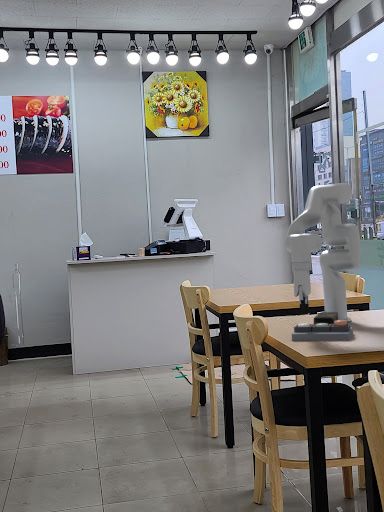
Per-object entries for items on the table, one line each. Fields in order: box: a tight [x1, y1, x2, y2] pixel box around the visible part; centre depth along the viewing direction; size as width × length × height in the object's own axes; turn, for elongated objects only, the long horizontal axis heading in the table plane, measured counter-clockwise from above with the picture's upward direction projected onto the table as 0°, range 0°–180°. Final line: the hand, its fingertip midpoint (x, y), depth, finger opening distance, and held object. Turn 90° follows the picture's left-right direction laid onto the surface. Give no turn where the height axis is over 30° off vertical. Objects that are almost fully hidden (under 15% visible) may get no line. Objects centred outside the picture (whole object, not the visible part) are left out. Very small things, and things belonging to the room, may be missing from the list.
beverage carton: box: [313, 310, 338, 325], centre depth 259 cm, size 8×19×7 cm, turn 161°
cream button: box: [298, 322, 310, 327], centre depth 244 cm, size 4×4×2 cm
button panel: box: [291, 323, 354, 342], centre depth 241 cm, size 14×21×4 cm, turn 70°
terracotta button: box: [335, 320, 348, 326], centre depth 239 cm, size 4×4×2 cm
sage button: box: [316, 323, 328, 327], centre depth 241 cm, size 4×4×2 cm
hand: (304, 314), depth 243 cm, fingers closed
